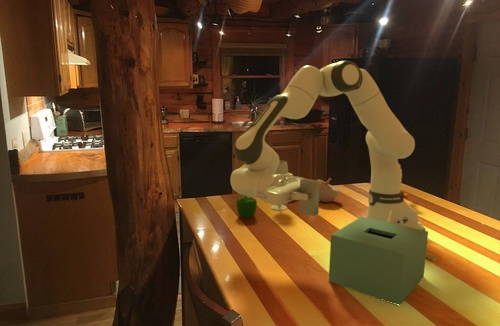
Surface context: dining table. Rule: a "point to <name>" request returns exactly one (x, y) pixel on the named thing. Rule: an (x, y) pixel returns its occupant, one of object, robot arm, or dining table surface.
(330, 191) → the mortar and pestle
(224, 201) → the dining table surface
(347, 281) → the coin box
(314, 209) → the brown upright bar
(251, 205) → the bell pepper
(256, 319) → the dining table surface
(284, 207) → the wineglass
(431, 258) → the dice set
